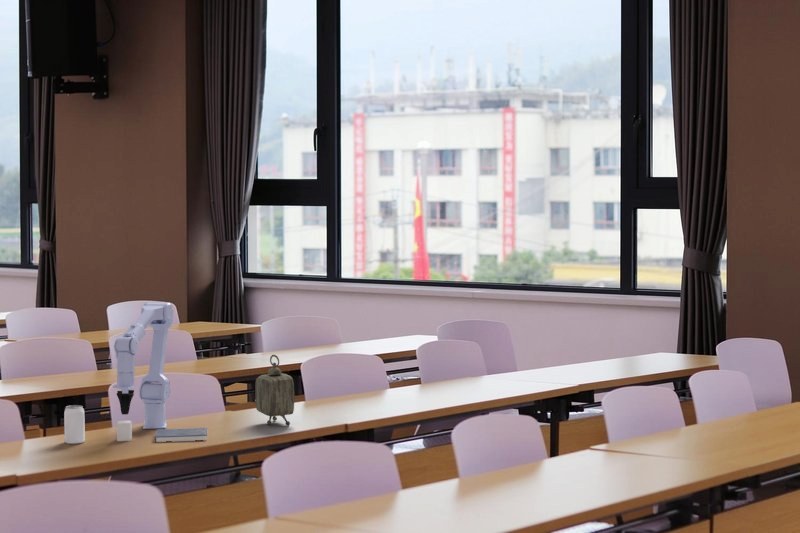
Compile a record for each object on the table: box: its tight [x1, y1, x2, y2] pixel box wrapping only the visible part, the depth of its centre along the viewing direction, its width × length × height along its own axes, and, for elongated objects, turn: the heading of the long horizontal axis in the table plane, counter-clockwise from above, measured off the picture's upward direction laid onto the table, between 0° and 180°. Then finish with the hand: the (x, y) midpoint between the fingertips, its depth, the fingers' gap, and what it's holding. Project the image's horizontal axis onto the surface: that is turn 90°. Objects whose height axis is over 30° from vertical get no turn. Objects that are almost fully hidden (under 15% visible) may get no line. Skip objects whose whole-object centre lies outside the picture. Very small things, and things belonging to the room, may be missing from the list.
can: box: [63, 404, 86, 445], centre depth 390 cm, size 6×6×12 cm
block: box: [116, 420, 133, 442], centre depth 395 cm, size 4×4×6 cm
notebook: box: [154, 427, 208, 443], centre depth 398 cm, size 12×17×2 cm
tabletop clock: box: [254, 354, 295, 427], centre depth 420 cm, size 14×9×25 cm, turn 32°
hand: (125, 412), depth 394 cm, fingers open, 7 cm apart
